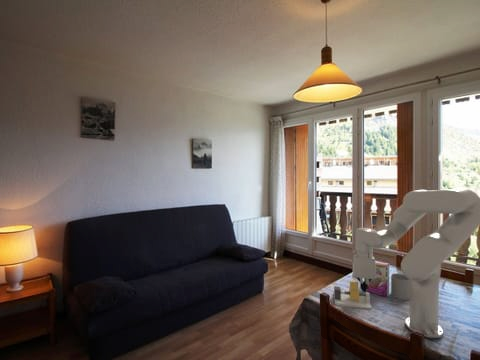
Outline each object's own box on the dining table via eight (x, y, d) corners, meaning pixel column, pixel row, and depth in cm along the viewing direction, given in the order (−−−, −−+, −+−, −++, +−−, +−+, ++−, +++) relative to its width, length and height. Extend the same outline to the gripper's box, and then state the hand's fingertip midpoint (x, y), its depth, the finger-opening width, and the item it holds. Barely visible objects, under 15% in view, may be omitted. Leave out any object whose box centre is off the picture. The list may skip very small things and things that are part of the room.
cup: (413, 300, 125) (413, 280, 125) (395, 299, 127) (395, 279, 127) (405, 292, 134) (405, 274, 133) (388, 291, 135) (388, 273, 135)
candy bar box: (363, 290, 136) (363, 260, 136) (366, 287, 140) (366, 258, 140) (387, 297, 129) (387, 265, 128) (389, 294, 132) (389, 263, 132)
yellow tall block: (359, 300, 123) (359, 283, 123) (350, 299, 124) (350, 282, 124) (357, 296, 127) (357, 280, 127) (349, 295, 128) (349, 279, 128)
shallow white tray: (371, 309, 118) (371, 297, 118) (335, 304, 123) (335, 293, 123) (366, 297, 129) (366, 286, 129) (333, 294, 133) (333, 283, 133)
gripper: (348, 254, 122) (348, 292, 123) (383, 257, 118) (382, 296, 118) (346, 250, 129) (346, 285, 130) (379, 252, 125) (378, 289, 126)
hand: (363, 290), depth 124 cm, fingers closed
